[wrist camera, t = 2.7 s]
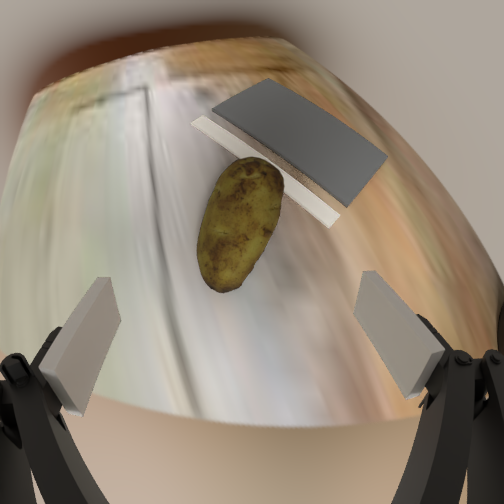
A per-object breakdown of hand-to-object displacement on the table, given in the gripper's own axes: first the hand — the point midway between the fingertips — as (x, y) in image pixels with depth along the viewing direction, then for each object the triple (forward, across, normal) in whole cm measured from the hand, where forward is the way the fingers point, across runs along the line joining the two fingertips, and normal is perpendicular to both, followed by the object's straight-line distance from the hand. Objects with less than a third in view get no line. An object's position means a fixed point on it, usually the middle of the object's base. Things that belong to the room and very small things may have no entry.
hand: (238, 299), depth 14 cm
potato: (+17, 0, -3) cm, 18 cm away
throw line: (+24, +4, +4) cm, 25 cm away
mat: (+29, +10, +9) cm, 32 cm away
